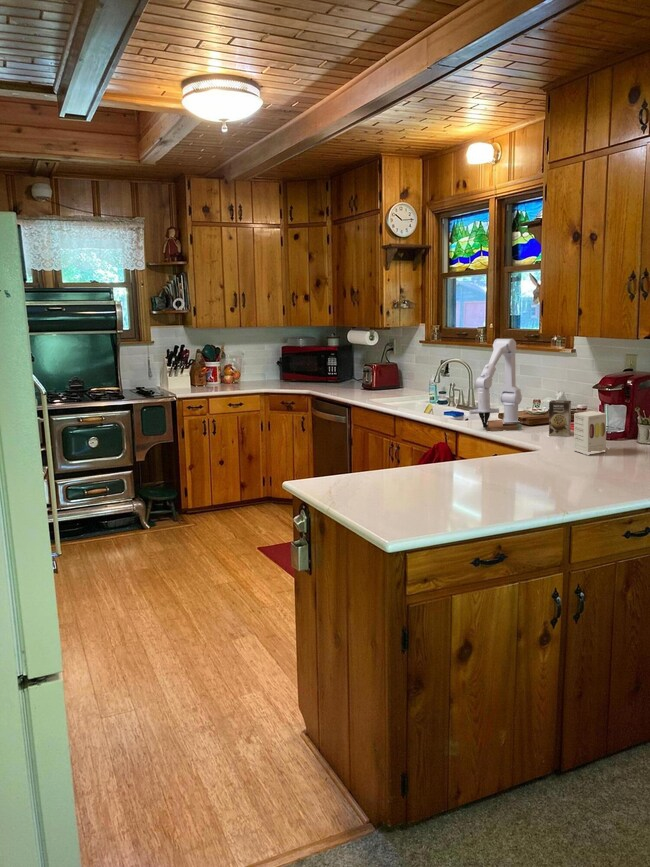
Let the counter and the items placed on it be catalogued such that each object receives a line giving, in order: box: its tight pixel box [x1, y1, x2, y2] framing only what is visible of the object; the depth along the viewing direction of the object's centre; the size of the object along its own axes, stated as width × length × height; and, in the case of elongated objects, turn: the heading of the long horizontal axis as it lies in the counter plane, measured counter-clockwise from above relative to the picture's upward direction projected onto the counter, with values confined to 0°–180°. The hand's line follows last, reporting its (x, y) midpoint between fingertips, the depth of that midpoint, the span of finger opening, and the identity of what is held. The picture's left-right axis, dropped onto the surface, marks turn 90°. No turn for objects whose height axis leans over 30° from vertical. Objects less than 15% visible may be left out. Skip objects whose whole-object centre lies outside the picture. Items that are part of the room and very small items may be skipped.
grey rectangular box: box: [548, 399, 572, 438], centre depth 327 cm, size 9×6×16 cm
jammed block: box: [487, 419, 504, 427], centre depth 350 cm, size 4×7×4 cm, turn 85°
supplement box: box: [573, 410, 607, 452], centre depth 293 cm, size 10×9×17 cm
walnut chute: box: [485, 421, 523, 432], centre depth 349 cm, size 8×17×3 cm, turn 82°
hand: (484, 427), depth 351 cm, fingers closed
